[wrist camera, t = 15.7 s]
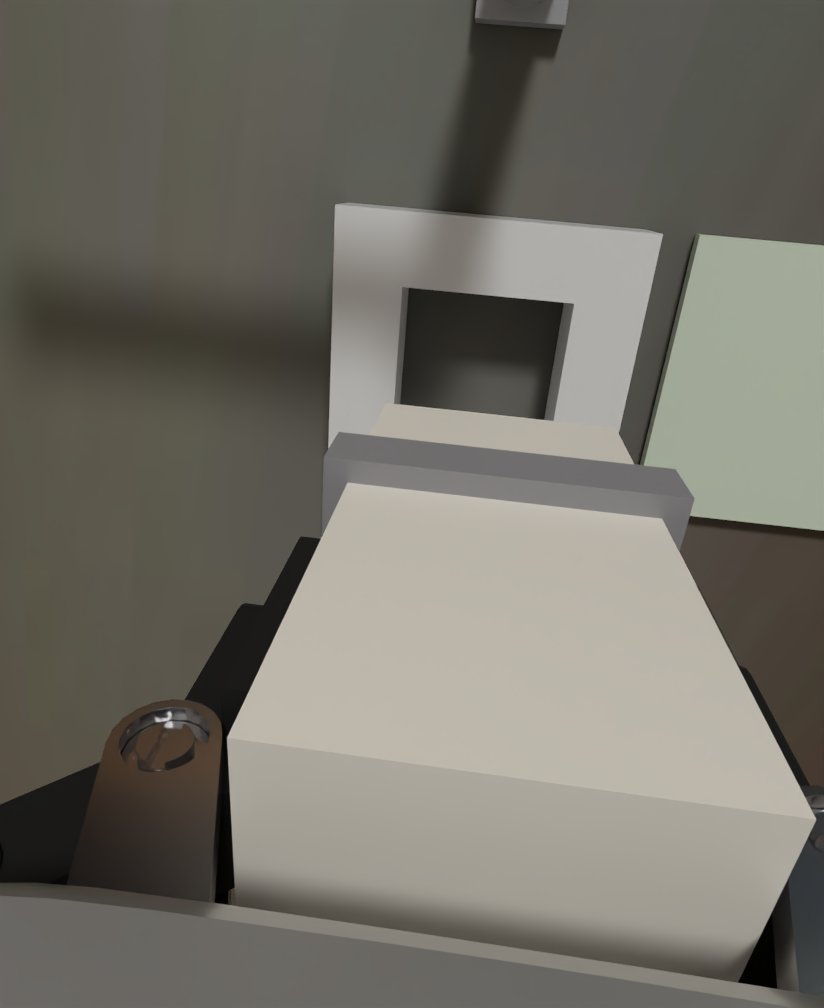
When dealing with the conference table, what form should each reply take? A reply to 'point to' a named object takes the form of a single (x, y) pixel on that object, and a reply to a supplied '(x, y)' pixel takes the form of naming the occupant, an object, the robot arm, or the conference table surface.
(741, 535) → the conference table surface
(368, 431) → the socket block
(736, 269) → the mat
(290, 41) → the conference table surface
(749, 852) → the plug
